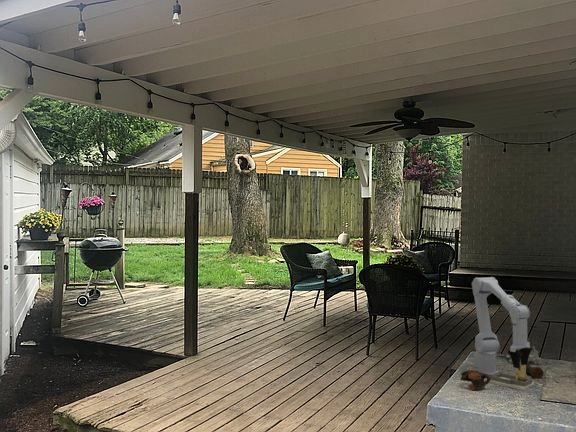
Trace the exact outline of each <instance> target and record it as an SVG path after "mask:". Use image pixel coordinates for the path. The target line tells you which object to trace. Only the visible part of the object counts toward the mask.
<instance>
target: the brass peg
mask: <svg viewBox="0 0 576 432" xmlns="http://www.w3.org/2000/svg"><path fill="white" fill-rule="evenodd" d="M515 376H516V381H521V382H524V381H526V378H527V373H526V365H525V364H522V363H521V362H520V366H519V368H515Z"/></svg>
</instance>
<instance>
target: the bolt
mask: <svg viewBox="0 0 576 432" xmlns="http://www.w3.org/2000/svg"><path fill="white" fill-rule="evenodd" d="M526 374H529V375H531V377H532V378H533V379H535V380H537V379H539V380H540V379H542V378H543V376H544V375H545V373H544V371H543V369H542V368H541V367H540V366H531V365H530V363H528V362H527V365H526Z"/></svg>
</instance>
